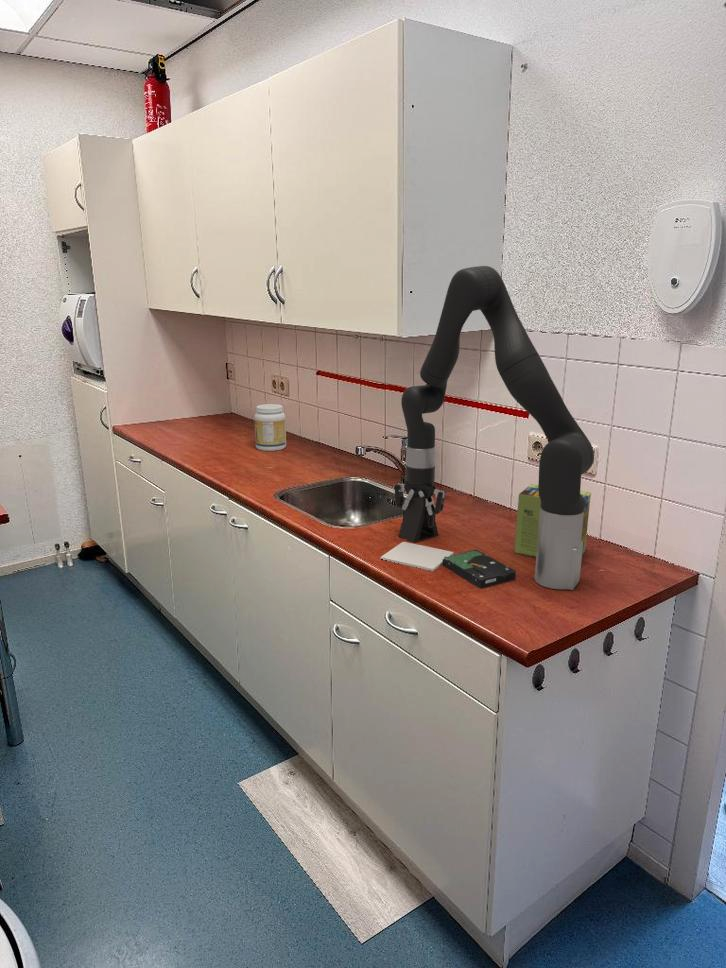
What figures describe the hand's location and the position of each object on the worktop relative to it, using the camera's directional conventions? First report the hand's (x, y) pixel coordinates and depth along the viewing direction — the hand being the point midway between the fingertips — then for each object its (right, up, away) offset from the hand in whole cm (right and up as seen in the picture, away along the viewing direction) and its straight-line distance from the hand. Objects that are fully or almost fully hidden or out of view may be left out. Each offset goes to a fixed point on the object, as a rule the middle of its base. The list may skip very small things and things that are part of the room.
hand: (418, 524), depth 181 cm
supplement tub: (-51, +25, +95) cm, 111 cm away
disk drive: (+12, -10, -21) cm, 26 cm away
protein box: (+32, -6, -9) cm, 34 cm away
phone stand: (0, -3, +1) cm, 3 cm away
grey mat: (-1, -7, -13) cm, 15 cm away
